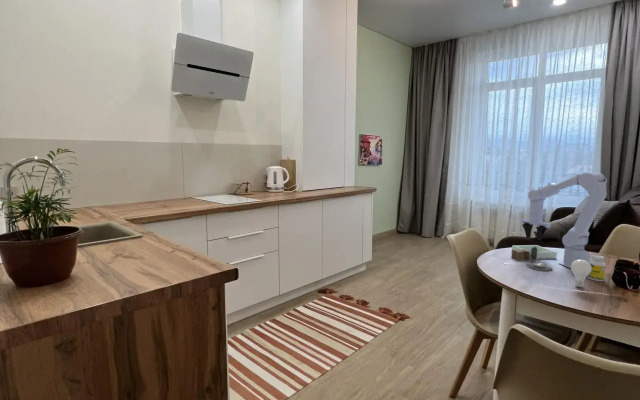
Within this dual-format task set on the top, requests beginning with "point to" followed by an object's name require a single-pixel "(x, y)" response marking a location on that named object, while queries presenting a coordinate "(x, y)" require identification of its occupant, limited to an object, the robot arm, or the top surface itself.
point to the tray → (541, 252)
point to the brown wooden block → (520, 254)
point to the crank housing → (536, 267)
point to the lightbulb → (580, 271)
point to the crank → (534, 259)
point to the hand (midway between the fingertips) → (533, 238)
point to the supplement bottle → (597, 268)
